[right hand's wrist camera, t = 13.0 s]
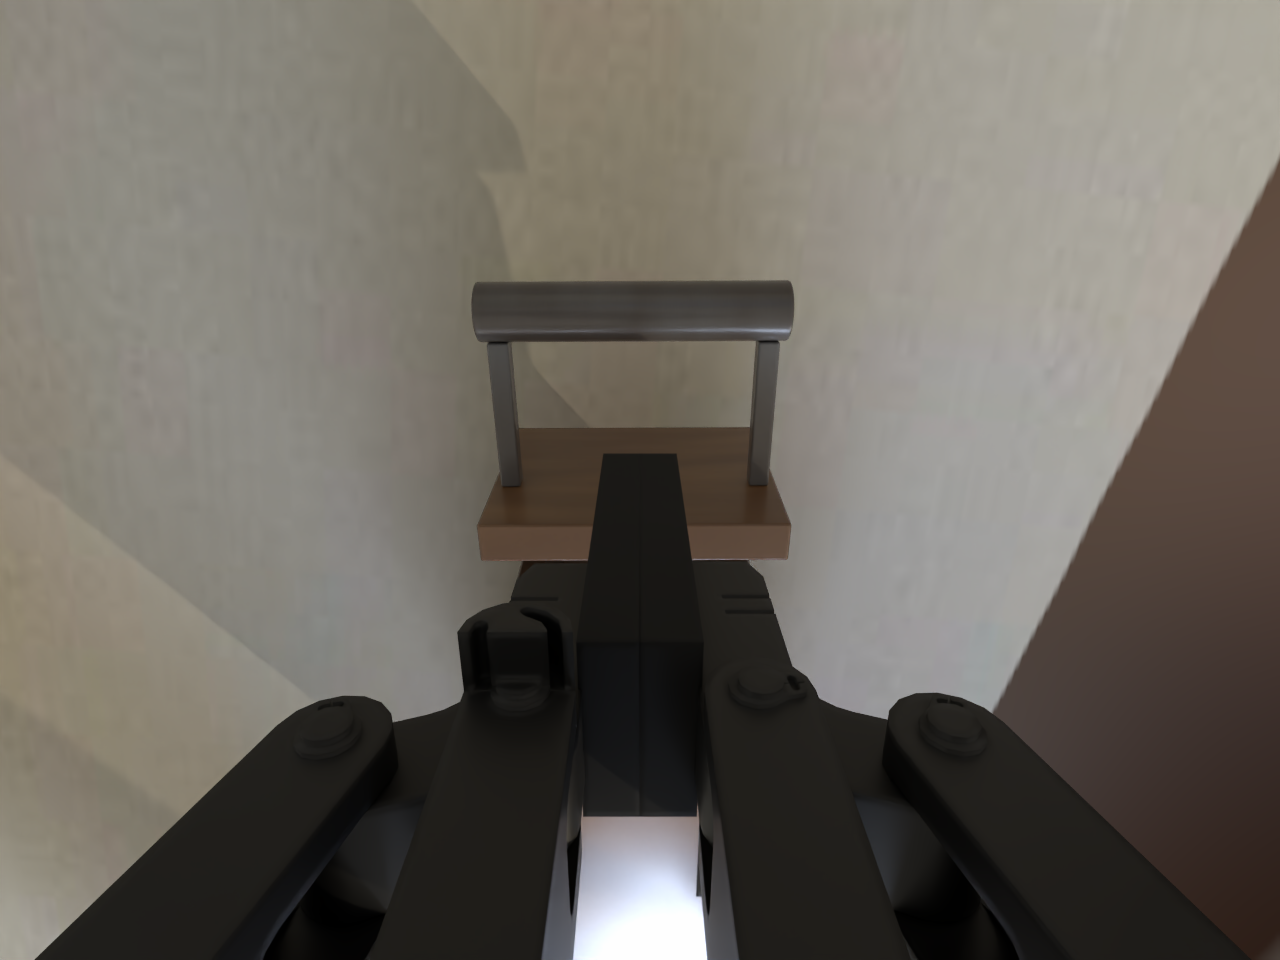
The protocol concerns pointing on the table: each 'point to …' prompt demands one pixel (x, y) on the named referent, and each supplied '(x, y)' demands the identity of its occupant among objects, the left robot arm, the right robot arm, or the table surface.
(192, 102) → the table surface
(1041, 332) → the table surface
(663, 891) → the wooden drawer box
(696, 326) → the wooden drawer
